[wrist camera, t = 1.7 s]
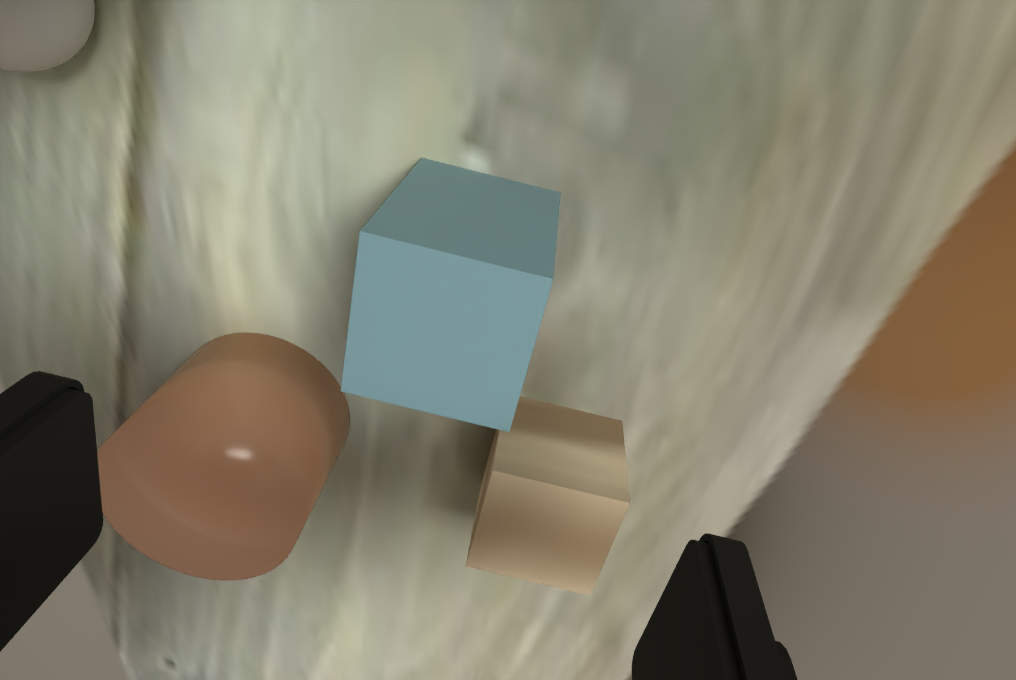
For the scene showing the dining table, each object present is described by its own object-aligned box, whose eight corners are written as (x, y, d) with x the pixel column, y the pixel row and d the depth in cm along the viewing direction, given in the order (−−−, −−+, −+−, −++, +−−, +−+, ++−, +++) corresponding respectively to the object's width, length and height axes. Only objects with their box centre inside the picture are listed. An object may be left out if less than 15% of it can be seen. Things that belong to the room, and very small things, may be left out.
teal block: (421, 157, 19) (359, 231, 13) (560, 192, 19) (553, 279, 13) (401, 284, 20) (340, 391, 15) (527, 315, 21) (509, 432, 15)
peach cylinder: (180, 313, 22) (81, 398, 17) (359, 356, 22) (304, 452, 18) (184, 451, 25) (100, 554, 20) (341, 489, 25) (291, 598, 21)
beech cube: (506, 391, 22) (492, 470, 19) (621, 419, 22) (629, 503, 19) (481, 480, 24) (465, 566, 21) (588, 505, 24) (590, 595, 21)
